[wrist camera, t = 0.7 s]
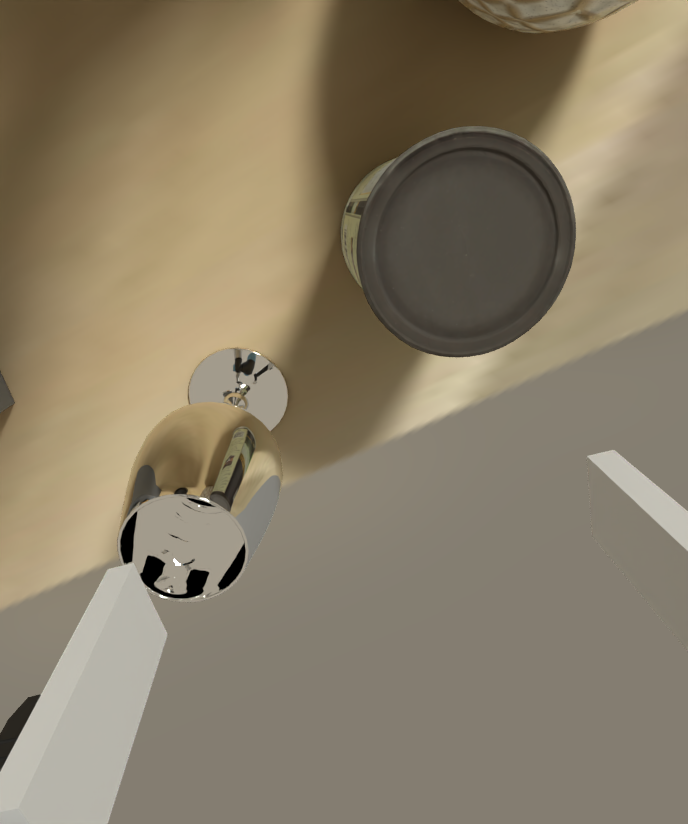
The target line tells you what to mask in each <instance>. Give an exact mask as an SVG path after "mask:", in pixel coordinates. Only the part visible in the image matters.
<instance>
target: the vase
mask: <svg viewBox="0 0 688 824" xmlns="http://www.w3.org/2000/svg"><path fill="white" fill-rule="evenodd" d="M458 1H459V2H460V3H462V4H463V5H464V6H465V7H466V8H468V9H469V10H470V11H471V12H473V13H474V14H476V15H478V16H479V17H481V18H483V19H485V20H487V21H488V22H491V23H493V24H496V25H498V26H501V27H504V28H507V29H510V30H514V31H520V32H527V33H550V32H558V31H564V30H569V29H574V28H578V27H581V26H585V25H588V24H590V23H593V22H596V21H599V20H601V19H604V18H606V17H608V16H610V15H612V14H615V13H617V12H619V11H620V10H622V9H624V8H626V7H628V6H629V5H631V4H633V3H635V2H636V1H638V0H458Z"/></svg>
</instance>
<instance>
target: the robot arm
mask: <svg viewBox="0 0 688 824" xmlns="http://www.w3.org/2000/svg"><path fill="white" fill-rule="evenodd" d="M587 468H588V482H589V498H590V512H591V527H592V537H593V538H594V539H595V541H596V542H597V543H598V544H599V545H600V547H601V548H602V549H603V550H604V551H605V553H606V554H607V555H608V556H609V558H610V559H611V560H612V561H613V562H614V564H615V565H616V566H617V567H618V568H619V569H620V571H621V572H622V573H623V574H624V576H625V577H626V578H627V579H628V580H629V582H630V583H631V584H632V585H633V586H634V587H635V589H636V590H637V591H638V592H639V594H640V595H641V596H642V597H643V598H644V600H645V601H646V602H647V603H648V604H649V606H650V607H651V608H652V609H653V610H654V611H655V613H656V614H657V615H658V617H659V618H660V619H661V620H662V621H663V623H664V624H665V625H666V626H667V627H668V629H669V630H670V631H671V632H672V633H673V635H674V636H675V637H676V638H677V639H678V640H679V642H680V643H681V644H682V645H683V647H684V648H685V649H686V650H687V651H688V511H686V510H685V509H684V508H683V507H682V506H680V505H679V504H678V503H676V501H674V500H673V499H672V498H671V497H670V496H668V495H667V494H666V493H665V492H664V491H662V490H661V489H660V488H659V487H658V486H657V485H655V484H654V483H653V482H652V481H650V480H649V479H648V478H647V477H646V476H645V475H643V474H642V473H641V472H640V471H638V470H637V469H636V468H635V467H634V466H633V465H631V464H630V463H629V462H628V461H627V460H625V459H624V458H623V457H622V456H621V455H619V454H618V453H617V452H616V451H615V450H611V451H607V452H603V453H599V454H594V455H590V456H587ZM166 638H167V632H166V630H165V628H164V626H163V624H162V622H161V619H160V617H159V615H158V613H157V611H156V609H155V607H154V605H153V603H152V600H151V598H150V596H149V595H148V592H147V590H146V588H145V586H144V584H143V582H142V579H141V577H140V575H139V573H138V571H137V569H136V567H135V565H134V563H131V564H127V565H123V566H119V567H115V568H110V569H108V570H107V572H106V574H105V575H104V578H103V579H102V581H101V583H100V585H99V587H98V589H97V591H96V593H95V594H94V596H93V598H92V600H91V602H90V604H89V606H88V607H87V609H86V611H85V613H84V615H83V617H82V619H81V621H80V622H79V624H78V626H77V628H76V630H75V632H74V634H73V636H72V638H71V639H70V641H69V643H68V645H67V647H66V649H65V651H64V653H63V654H62V656H61V658H60V660H59V662H58V664H57V666H56V668H55V670H54V671H53V673H52V675H51V677H50V679H49V681H48V683H47V685H46V686H45V688H44V690H43V692H42V694H41V695H36V696H32V697H28V698H27V699H26V700H25V702H24V703H23V704H22V705H21V706H20V707H19V708H18V709H17V710H16V712H15V713H14V714H13V715H12V716H11V717H10V718H9V719H8V721H7V723H6V725H5V727H4V728H3V730H2V732H1V733H0V824H108V821H109V818H110V815H111V811H112V808H113V805H114V802H115V799H116V796H117V792H118V789H119V786H120V783H121V780H122V777H123V774H124V771H125V767H126V764H127V761H128V758H129V755H130V752H131V748H132V745H133V742H134V739H135V736H136V732H137V729H138V726H139V723H140V720H141V717H142V714H143V710H144V707H145V704H146V701H147V698H148V695H149V692H150V688H151V685H152V682H153V679H154V676H155V673H156V669H157V667H158V663H159V660H160V657H161V654H162V650H163V648H164V644H165V641H166Z"/></svg>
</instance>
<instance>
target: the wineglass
mask: <svg viewBox="0 0 688 824" xmlns="http://www.w3.org/2000/svg"><path fill="white" fill-rule="evenodd" d="M188 395H189V401H190V405H187V406H183V407H181V408H179V409H177V410H175V411H173V412H171V413H170V414H169V415H167V416H166V417H165V418H163V419H162V420H161V421H160V422H159V423H158V424H157V425H156V426H155V427H154V428H153V429H152V431H151V432H150V433H149V434H148V435H147V437H146V439H145V441H144V443H143V445H142V446H141V448H140V450H139V452H138V454H137V456H136V459H135V461H134V463H133V466H132V469H131V473H130V477H129V481H128V485H127V490H126V494H125V498H124V503H123V508H122V513H121V520H120V526H119V532H118V538H117V551H118V555H119V559H120V562H121V564H122V566H123V565H127V564H131V563H134V565H135V567H136V569H137V571H138V573H139V575H140V577H141V579H142V582H143V584H144V586H145V588H146V590H147V592H149V593H150V594H153V595H155V596H158V597H160V598H163V599H166V600H171V601H177V602H197V601H202V600H207V599H211V598H213V597H215V596H218V595H220V594H222V593H223V592H225V591H226V590H228V589H229V588H231V587H232V586H233V585H234V584H235V583H236V582H237V581H238V580H239V578H240V577H241V575H242V574H243V572H244V570H245V569H246V567H247V565H248V563H249V561H250V559H251V558H252V556H253V554H254V552H255V551H256V549H257V547H258V545H259V544H260V542H261V540H262V538H263V536H264V534H265V532H266V529H267V527H268V525H269V523H270V521H271V519H272V516H273V514H274V511H275V508H276V505H277V502H278V499H279V495H280V491H281V486H282V477H283V471H282V461H281V453H280V450H279V447H278V444H277V442H276V440H275V439H274V437H273V435H272V433H271V432H270V431H271V430H272V429H274V428H275V427H276V426H277V425H278V423H279V422H280V421H281V419H282V417H283V416H284V414H285V411H286V408H287V404H288V387H287V384H286V381H285V378H284V376H283V374H282V373H281V371H280V369H279V368H278V367H277V366H276V365H275V363H274V362H272V361H271V360H270V359H269V358H268V357H266V356H264V355H263V354H261V353H259V352H257V351H254V350H251V349H247V348H239V347H235V348H226V349H222V350H218V351H216V352H214V353H212V354H210V355H208V356H207V357H206V358H205V359H203V360H202V361H201V362H200V363H199V365H198V366H197V367H196V368H195V370H194V372H193V374H192V376H191V379H190V383H189V394H188Z"/></svg>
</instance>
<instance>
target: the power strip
mask: <svg viewBox="0 0 688 824" xmlns="http://www.w3.org/2000/svg"><path fill="white" fill-rule="evenodd" d="M14 403H15V402H14V400H13V398H12V396H11V393H10V391H9V389H8V387H7V385H6V382H5V380H4V378H3V376H2V374H1V372H0V413H1V412H2V411H4V410H5V409H7V408H8V407H10V406H11V405H13V404H14Z"/></svg>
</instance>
